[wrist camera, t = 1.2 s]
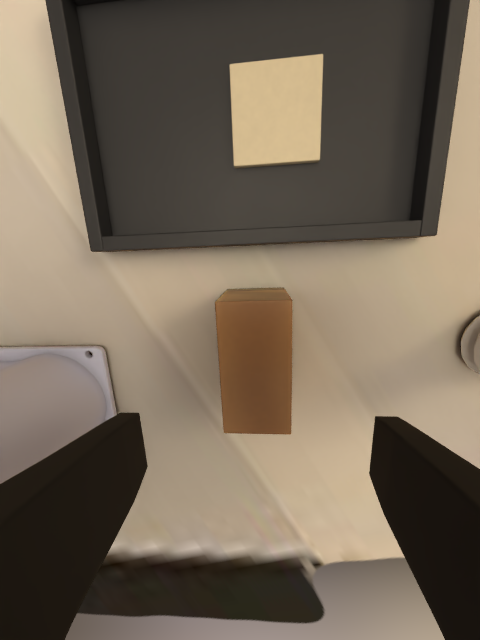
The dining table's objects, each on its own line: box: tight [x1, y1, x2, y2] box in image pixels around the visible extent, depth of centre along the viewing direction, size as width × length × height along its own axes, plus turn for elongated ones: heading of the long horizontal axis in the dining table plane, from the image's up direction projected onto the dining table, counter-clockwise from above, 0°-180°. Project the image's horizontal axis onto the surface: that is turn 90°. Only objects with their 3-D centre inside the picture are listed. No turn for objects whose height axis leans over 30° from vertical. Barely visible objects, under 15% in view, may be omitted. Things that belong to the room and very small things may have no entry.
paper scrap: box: [229, 54, 323, 168], centre depth 13 cm, size 4×4×1 cm
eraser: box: [215, 288, 292, 434], centre depth 15 cm, size 4×7×4 cm, turn 2°
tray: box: [46, 0, 470, 252], centre depth 13 cm, size 19×13×2 cm
